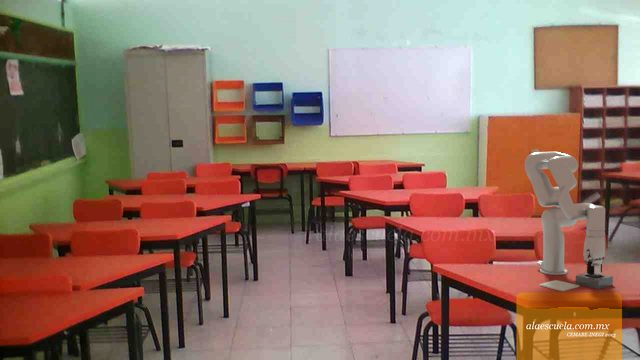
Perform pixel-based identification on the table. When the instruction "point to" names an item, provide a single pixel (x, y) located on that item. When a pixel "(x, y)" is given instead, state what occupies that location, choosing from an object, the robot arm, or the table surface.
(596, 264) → the end cover
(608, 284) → the bore housing
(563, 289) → the sage mat
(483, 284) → the table surface
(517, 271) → the table surface
